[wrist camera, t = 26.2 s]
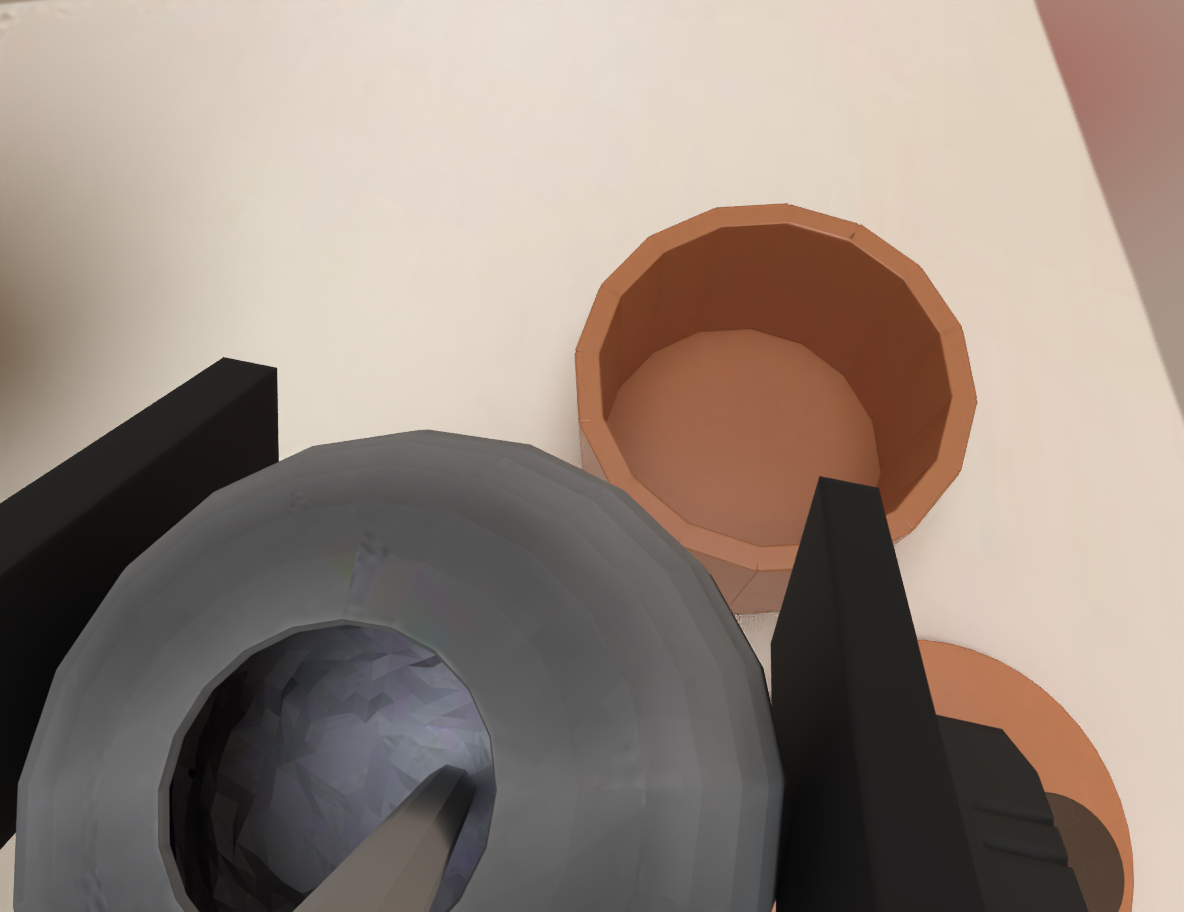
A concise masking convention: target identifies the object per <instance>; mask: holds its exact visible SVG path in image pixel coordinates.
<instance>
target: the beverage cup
mask: <svg viewBox="0 0 1184 912" xmlns="http://www.w3.org/2000/svg"><path fill="white" fill-rule="evenodd" d="M786 783H787V778H786V773H785V768H784V764H783V759H782V754H781V749H780V745H779V740H778V735H777V730H776V726H775V721H774V716H773V711H772V707H771V702H770V697H769V693H768V688H767V683H766V678H765V674H764V669H763V667H762V665H761V663H760V662H759V660H758V658H757V656H756V654H755V653H754V651H753V649H752V647H751V645H750V644H749V642H748V640H747V638H746V636H745V635H744V633H743V631H742V629H741V627H740V626H739V624H738V622H737V620H736V618H735V617H734V615H733V613H732V611H731V609H730V608H729V606H728V604H727V602H726V600H725V599H724V597H723V595H722V593H721V591H720V590H719V588H718V586H717V584H716V582H715V581H714V579H713V577H712V575H711V574H710V573H709V572H708V571H707V569H706V568H705V567H704V566H703V565H702V564H701V563H700V562H699V561H698V560H697V559H696V558H695V557H694V556H693V555H692V554H691V553H690V552H689V551H688V550H687V549H686V548H685V547H683V546H682V545H681V544H680V543H679V542H678V541H677V540H676V539H675V538H674V537H673V536H672V535H671V534H670V533H669V532H668V531H667V530H666V529H664V528H663V527H662V526H661V525H660V524H659V523H658V522H657V521H656V520H655V519H654V518H653V517H652V516H651V515H650V514H649V513H648V512H647V511H646V510H644V509H643V508H642V507H641V506H640V505H639V504H638V503H637V502H636V501H635V500H634V499H633V498H632V497H631V496H630V495H629V494H628V493H627V492H626V491H624V490H623V489H621V488H619V487H617V486H615V485H612V484H610V483H608V482H606V481H604V480H602V479H600V478H598V477H596V476H594V475H592V474H590V473H588V472H586V471H584V470H582V469H579V468H577V467H575V466H573V465H571V464H569V463H567V462H565V461H563V460H561V459H559V458H557V457H555V456H553V455H551V454H548V453H546V452H544V451H542V450H540V449H538V448H536V447H534V446H532V445H529V444H522V443H515V442H508V441H502V440H495V439H488V438H481V437H474V436H468V435H461V434H454V433H447V432H441V431H434V430H417V431H410V432H403V433H397V434H390V435H384V436H377V437H370V438H364V439H357V440H350V441H344V442H337V443H331V444H324V445H317V446H312V447H310V448H308V449H305V450H303V451H301V452H299V453H297V454H295V455H292V456H290V457H288V458H286V459H284V460H282V461H280V462H277V463H275V464H273V465H271V466H269V467H267V468H264V469H262V470H260V471H258V472H256V473H254V474H252V475H249V476H247V477H245V478H243V479H241V480H239V481H236V482H234V483H232V484H230V485H228V486H226V487H223V488H221V489H219V490H217V491H215V492H213V493H212V494H211V495H210V496H209V497H207V498H206V499H205V500H204V501H203V502H202V503H200V504H199V505H198V506H197V507H196V508H194V509H193V510H192V511H191V512H190V513H189V514H187V515H186V516H185V517H184V518H183V519H182V520H180V521H179V522H178V523H177V524H176V525H175V526H173V527H172V528H171V529H170V530H169V531H168V532H166V533H165V534H164V535H163V536H162V537H161V538H159V539H158V540H157V541H156V542H155V543H154V544H152V545H151V546H150V547H149V548H148V549H147V550H145V551H144V552H143V553H142V554H141V555H140V556H138V557H137V558H136V559H135V560H134V561H133V562H131V563H130V564H129V565H128V566H127V567H126V568H125V570H124V571H123V572H122V573H121V575H120V576H119V578H118V579H117V581H116V582H115V584H114V585H113V587H112V588H111V590H110V591H109V593H108V594H107V596H106V597H105V598H104V600H103V601H102V603H101V604H100V606H99V607H98V609H97V610H96V612H95V613H94V615H93V616H92V618H91V619H90V621H89V622H88V624H87V625H86V627H85V628H84V630H83V631H82V632H81V634H80V635H79V637H78V638H77V640H76V641H75V643H74V644H73V646H72V647H71V649H70V650H69V652H68V653H67V655H66V656H65V658H64V659H63V661H62V662H61V664H60V665H59V666H58V668H57V669H56V672H55V675H54V678H53V681H52V684H51V687H50V690H49V693H48V696H47V699H46V702H45V705H44V708H43V711H42V714H41V717H40V720H39V723H38V726H37V729H36V732H35V735H34V738H33V741H32V744H31V747H30V750H29V753H28V756H27V759H26V762H25V765H24V768H23V770H22V773H21V776H20V779H19V782H18V796H17V821H16V846H15V871H14V896H13V909H14V912H771V911H772V909H773V906H774V903H775V900H776V894H777V884H778V874H779V862H780V851H781V840H782V828H783V817H784V806H785V794H786Z"/></svg>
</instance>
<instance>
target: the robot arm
mask: <svg viewBox="0 0 1184 912" xmlns="http://www.w3.org/2000/svg"><path fill="white" fill-rule="evenodd" d="M277 462H279V449H278V393H277V368H275V367H270V366H265V365H260V364H255V363H250V362H245V361H240V360H235V359H230V358H225V357H223V358H222V359H220V360H219V361H217V362H216V363H214V364H213V365H211V366H210V367H208V368H207V369H205V370H203V371H202V372H200V373H199V374H197V375H196V376H194V377H193V378H191V379H190V380H188V381H187V382H185V383H184V384H182V385H181V386H179V387H177V388H176V389H174V390H173V391H171V392H170V393H168V394H167V395H165V396H164V397H162V398H161V399H159V400H158V401H156V402H155V403H153V404H152V405H150V406H148V407H147V408H145V409H144V410H142V411H141V412H139V413H138V414H136V415H135V416H133V417H132V418H130V419H129V420H127V421H126V422H124V423H122V424H121V425H119V426H118V427H116V428H115V429H113V430H112V431H110V432H109V433H107V434H106V435H104V436H103V437H101V438H100V439H98V440H97V441H95V442H93V443H92V444H90V445H89V446H87V447H86V448H84V449H83V450H81V451H80V452H78V453H77V454H75V455H74V456H72V457H71V458H69V459H67V460H66V461H64V462H63V463H61V464H60V465H58V466H57V467H55V468H54V469H52V470H51V471H49V472H48V473H46V474H45V475H43V476H42V477H40V478H38V479H37V480H35V481H34V482H32V483H31V484H29V485H28V486H26V487H25V488H23V489H22V490H20V491H19V492H17V493H16V494H14V495H12V496H11V497H9V498H8V499H6V500H5V501H3V502H2V503H0V849H1V848H2V847H3V846H4V845H5V844H6V843H7V842H8V840H9V839H10V838H11V837H12V836H13V835H14V834H15V833H16V821H17V796H18V782H19V779H20V776H21V773H22V770H23V768H24V765H25V762H26V759H27V756H28V753H29V750H30V747H31V744H32V741H33V738H34V735H35V732H36V729H37V726H38V723H39V720H40V717H41V714H42V711H43V708H44V705H45V702H46V699H47V696H48V693H49V690H50V687H51V684H52V681H53V678H54V675H55V672H56V669H57V668H58V666H59V665H60V664H61V662H62V661H63V659H64V658H65V656H66V655H67V653H68V652H69V650H70V649H71V647H72V646H73V644H74V643H75V641H76V640H77V638H78V637H79V635H80V634H81V632H82V631H83V630H84V628H85V627H86V625H87V624H88V622H89V621H90V619H91V618H92V616H93V615H94V613H95V612H96V610H97V609H98V607H99V606H100V604H101V603H102V601H103V600H104V598H105V597H106V596H107V594H108V593H109V591H110V590H111V588H112V587H113V585H114V584H115V582H116V581H117V579H118V578H119V576H120V575H121V573H122V572H123V571H124V570H125V568H126V567H127V566H128V565H129V564H130V563H131V562H133V561H134V560H135V559H136V558H137V557H138V556H140V555H141V554H142V553H143V552H144V551H145V550H147V549H148V548H149V547H150V546H151V545H152V544H154V543H155V542H156V541H157V540H158V539H159V538H161V537H162V536H163V535H164V534H165V533H166V532H168V531H169V530H170V529H171V528H172V527H173V526H175V525H176V524H177V523H178V522H179V521H180V520H182V519H183V518H184V517H185V516H186V515H187V514H189V513H190V512H191V511H192V510H193V509H194V508H196V507H197V506H198V505H199V504H200V503H202V502H203V501H204V500H205V499H206V498H207V497H209V496H210V495H211V494H212V493H213V492H215V491H217V490H219V489H221V488H223V487H226V486H228V485H230V484H232V483H234V482H236V481H239V480H241V479H243V478H245V477H247V476H249V475H252V474H254V473H256V472H258V471H260V470H262V469H264V468H267V467H269V466H271V465H273V464H275V463H277ZM771 687H772V711H773V716H774V721H775V726H776V730H777V735H778V740H779V745H780V749H781V754H782V759H783V764H784V768H785V773H786V778H787V783H786V794H785V806H784V817H783V828H782V840H781V851H780V862H779V874H778V884H777V894H776V912H1089V911H1088V909H1087V906H1086V903H1085V900H1084V898H1083V895H1082V892H1081V889H1080V887H1079V884H1078V881H1077V878H1076V876H1075V873H1074V870H1073V868H1071V867H1068V859H1069V857H1068V854H1067V851H1066V848H1065V846H1064V843H1063V840H1062V837H1061V835H1060V832H1059V829H1058V828H1057V827H1054V819H1055V818H1054V816H1053V813H1052V810H1051V807H1050V805H1049V802H1048V799H1047V797H1046V794H1045V791H1044V788H1043V786H1042V783H1041V780H1040V777H1039V775H1038V772H1037V771H1036V770H1035V769H1034V767H1033V766H1032V765H1031V764H1030V762H1029V761H1028V760H1027V759H1026V757H1025V756H1024V755H1023V754H1022V753H1021V751H1020V750H1019V749H1018V748H1017V746H1016V745H1015V744H1014V743H1013V742H1012V740H1011V739H1010V738H1009V737H1008V735H1007V734H1006V733H1005V732H1004V731H1003V729H1000V728H996V727H991V726H987V725H982V724H977V723H973V722H968V721H964V720H959V719H954V718H950V717H945V716H941V715H936V712H935V708H934V704H933V700H932V696H931V692H930V688H929V684H928V681H927V677H926V673H925V669H924V665H923V661H922V657H921V653H920V649H919V645H918V641H917V637H916V633H915V629H914V625H913V621H912V617H911V613H910V609H909V605H908V601H907V597H906V593H905V589H904V585H903V581H902V577H901V574H900V570H899V566H898V562H897V558H896V554H895V550H894V546H893V542H892V538H891V534H890V530H889V526H888V522H887V518H886V514H885V510H884V506H883V502H882V498H881V494H880V490H879V488H877V487H872V486H867V485H862V484H857V483H852V482H847V481H842V480H837V479H832V478H827V477H822V476H819V479H818V483H817V486H816V489H815V493H814V496H813V500H812V503H811V507H810V510H809V514H808V517H807V520H806V524H805V527H804V531H803V534H802V538H801V541H800V545H799V548H798V551H797V555H796V558H795V562H794V565H793V569H792V572H791V575H790V579H789V582H788V586H787V589H786V593H785V596H784V600H783V603H782V606H781V610H780V613H779V617H778V620H777V624H776V627H775V631H774V634H773V637H772V641H771Z"/></svg>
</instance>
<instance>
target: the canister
mask: <svg viewBox="0 0 1184 912" xmlns="http://www.w3.org/2000/svg"><path fill="white" fill-rule="evenodd" d="M575 367H576V385H577V403H578V421H579V433H580V445H581V456H582V468H583V470H584V471H586V472H588V473H590V474H592V475H594V476H596V477H598V478H600V479H602V480H604V481H606V482H608V483H610V484H612V485H615V486H617V487H619V488H621V489H623V490H624V491H626V492H627V493H628V494H629V495H630V496H631V497H632V498H633V499H634V500H635V501H636V502H637V503H638V504H639V505H640V506H641V507H642V508H643V509H644V510H646V511H647V512H648V513H649V514H650V515H651V516H652V517H653V518H654V519H655V520H656V521H657V522H658V523H659V524H660V525H661V526H662V527H663V528H664V529H666V530H667V531H668V532H669V533H670V534H671V535H672V536H673V537H674V538H675V539H676V540H677V541H678V542H679V543H680V544H681V545H682V546H683V547H685V548H686V549H687V550H688V551H689V552H690V553H691V554H692V555H693V556H694V557H695V558H696V559H697V560H698V561H699V562H700V563H701V564H702V565H703V566H704V567H705V568H706V569H707V571H708V572H709V573H710V574H711V575H712V577H713V579H714V581H715V582H716V584H717V586H718V588H719V590H720V591H721V593H722V595H723V597H724V599H725V600H726V602H727V604H728V606H729V608H730V609H731V611H732V613H762V612H770V611H777V610H781V606H782V603H783V600H784V596H785V593H786V589H787V586H788V582H789V579H790V575H791V572H792V569H793V565H794V562H795V558H796V555H797V551H798V548H799V545H800V541H801V538H802V534H803V531H804V527H805V524H806V520H807V517H808V514H809V510H810V507H811V503H812V500H813V496H814V493H815V489H816V486H817V483H818V479H819V476H822V477H827V478H832V479H837V480H842V481H847V482H852V483H857V484H862V485H867V486H872V487H877V488H879V490H880V494H881V498H882V502H883V506H884V510H885V514H886V518H887V522H888V526H889V530H890V534H891V538H892V542H893V546H894V545H895V544H897V543H898V542H899V541H900V540H902V539H903V538H904V537H906V536H907V535H908V534H910V533H911V532H912V531H913V530H914V529H915V528H916V527H917V526H918V524H919V523H920V522H921V521H922V519H923V518H924V517H925V516H926V514H927V513H928V512H929V511H930V509H931V508H932V507H933V506H934V505H935V503H936V502H937V501H938V500H939V498H940V497H941V496H942V495H943V493H944V492H945V491H946V490H947V488H948V487H949V486H950V485H951V483H952V482H953V481H954V480H955V478H956V477H957V476H958V475H959V472H960V471H961V469H962V465H963V460H964V456H965V452H966V448H967V443H968V439H969V435H970V431H971V426H972V422H973V418H974V414H975V409H976V405H977V400H976V399H977V396H976V392H975V387H974V382H973V377H972V372H971V367H970V362H969V357H968V352H967V348H966V343H965V338H964V333H963V330H962V326H961V325H960V323H959V322H958V320H957V319H956V317H955V316H954V314H953V313H952V312H951V310H950V309H949V307H948V306H947V304H946V303H945V301H944V300H943V298H942V297H941V295H940V294H939V292H938V291H937V290H936V288H935V287H934V285H933V284H932V282H931V281H930V279H929V278H928V276H927V275H926V273H925V272H924V270H923V269H922V268H920V266H919V265H918V264H916V263H915V262H914V261H912V260H911V259H909V258H908V257H907V256H905V255H904V254H902V253H901V252H899V251H898V250H897V249H895V248H894V247H892V246H891V245H890V244H888V243H887V242H885V241H884V240H882V239H881V238H880V237H878V236H877V235H875V234H874V233H873V232H871V231H870V230H868V229H867V228H865V227H864V226H863V225H861V224H860V225H859V224H857V223H854V222H850V221H847V220H843V219H840V218H836V217H833V216H829V215H825V214H822V213H818V212H815V211H811V210H808V209H804V208H801V207H797V206H794V205H788V204H787V203H786V204H768V205H751V206H734V207H717V208H714V209H711V210H709V211H707V212H704V213H702V214H700V215H697V216H695V217H693V218H690V219H688V220H686V221H683V222H681V223H679V224H677V225H674V226H672V227H670V228H667V229H665V230H663V231H660V232H658V233H656V234H653V235H651V236H650V237H648V238H647V239H646V240H645V241H644V242H643V243H642V244H641V245H640V246H639V247H638V248H637V249H636V250H635V251H634V252H633V253H632V254H631V255H630V256H629V257H628V258H627V259H626V260H625V261H624V262H623V263H622V264H621V265H620V266H619V267H618V268H617V269H616V270H615V271H614V272H613V273H612V274H611V275H610V276H609V277H608V278H607V279H606V280H605V281H604V282H603V283H602V284H601V287H600V288H599V290H598V293H597V295H596V298H595V301H594V303H593V306H592V308H591V311H590V313H589V316H588V319H587V321H586V324H585V326H584V329H583V331H582V334H581V337H580V339H579V342H578V344H577V347H576V352H575Z"/></svg>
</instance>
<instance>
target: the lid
mask: <svg viewBox="0 0 1184 912" xmlns="http://www.w3.org/2000/svg"><path fill="white" fill-rule="evenodd" d="M917 641H918V645H919V649H920V653H921V657H922V661H923V665H924V669H925V673H926V677H927V681H928V684H929V688H930V692H931V696H932V700H933V704H934V708H935V712H936V715H941V716H945V717H950V718H954V719H959V720H964V721H968V722H973V723H977V724H982V725H987V726H991V727H996V728H1000V729H1003V731H1004V732H1005V733H1006V734H1007V735H1008V737H1009V738H1010V739H1011V740H1012V742H1013V743H1014V744H1015V745H1016V746H1017V748H1018V749H1019V750H1020V751H1021V753H1022V754H1023V755H1024V756H1025V757H1026V759H1027V760H1028V761H1029V762H1030V764H1031V765H1032V766H1033V767H1034V769H1035V770H1036V771H1037V772H1038V775H1039V777H1040V780H1041V783H1042V786H1043V788H1044V791H1045V794H1046V797H1047V799H1048V802H1049V805H1050V807H1051V810H1052V813H1053V816H1054V818H1055V819H1054V827H1057V828H1058V829H1059V832H1060V835H1061V837H1062V840H1063V843H1064V846H1065V848H1066V851H1067V854H1068V857H1069V859H1068V867H1071V868H1073V870H1074V873H1075V876H1076V878H1077V881H1078V884H1079V887H1080V889H1081V892H1082V895H1083V898H1084V900H1085V903H1086V906H1087V909H1088V911H1089V912H1132V900H1133V888H1134V874H1133V854H1132V848H1131V842H1130V836H1129V829H1128V825H1127V822H1126V818H1125V815H1124V811H1123V808H1122V804H1121V801H1120V798H1119V796H1118V793H1117V791H1116V788H1115V786H1114V784H1113V781H1112V779H1111V776H1110V774H1109V772H1108V770H1107V769H1106V767H1105V765H1104V763H1103V761H1102V760H1101V758H1100V756H1099V754H1098V752H1097V750H1096V749H1095V747H1094V746H1093V745H1092V743H1091V742H1090V740H1089V739H1088V738H1087V736H1086V735H1085V733H1084V732H1083V730H1082V729H1081V728H1080V726H1079V725H1078V724H1077V723H1076V722H1075V721H1074V720H1073V718H1072V717H1071V716H1070V715H1069V714H1068V713H1067V712H1066V711H1065V709H1064V708H1063V707H1062V706H1061V705H1060V704H1059V703H1058V702H1056V701H1055V700H1054V699H1053V698H1052V697H1051V696H1050V695H1049V694H1048V693H1046V692H1045V691H1044V690H1043V689H1042V688H1041V687H1039V686H1038V685H1037V684H1035V683H1034V682H1032V681H1031V680H1030V679H1028V678H1027V677H1025V676H1024V675H1023V674H1021V673H1020V672H1018V671H1016V670H1014V669H1013V668H1011V667H1009V666H1007V665H1005V664H1004V663H1002V662H1000V661H998V660H996V659H994V658H991V657H989V656H986V655H984V654H981V653H979V652H977V651H974V650H971V649H967V648H964V647H960V646H956V645H953V644H949V643H942V642H935V641H928V640H917ZM771 912H776V900H775V903H774V906H773V909H772V911H771Z"/></svg>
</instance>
